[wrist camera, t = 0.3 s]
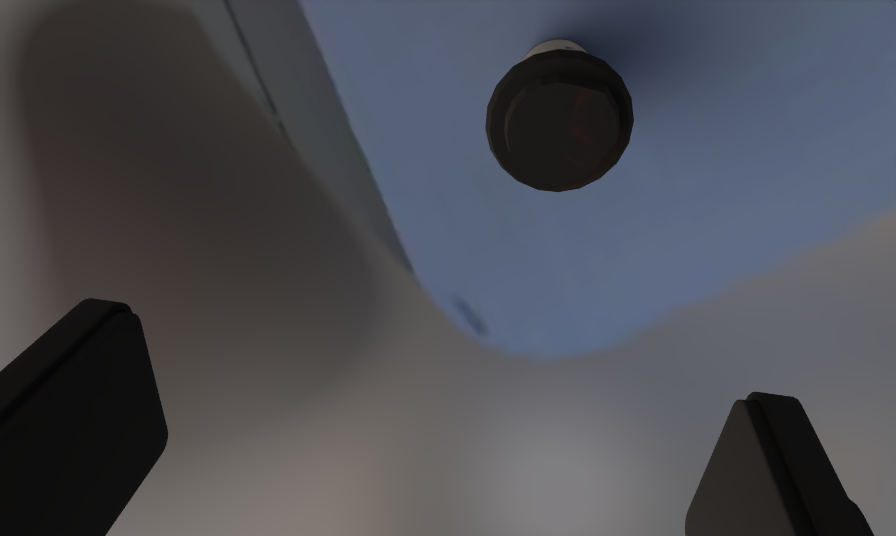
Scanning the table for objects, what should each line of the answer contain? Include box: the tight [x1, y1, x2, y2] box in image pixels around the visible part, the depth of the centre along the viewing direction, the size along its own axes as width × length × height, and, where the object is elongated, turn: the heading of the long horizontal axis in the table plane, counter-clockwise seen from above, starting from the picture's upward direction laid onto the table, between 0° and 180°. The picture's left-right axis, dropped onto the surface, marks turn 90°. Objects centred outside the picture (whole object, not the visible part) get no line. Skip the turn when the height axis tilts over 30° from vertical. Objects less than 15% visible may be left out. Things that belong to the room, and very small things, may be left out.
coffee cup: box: [486, 39, 634, 192], centre depth 32 cm, size 7×7×10 cm
